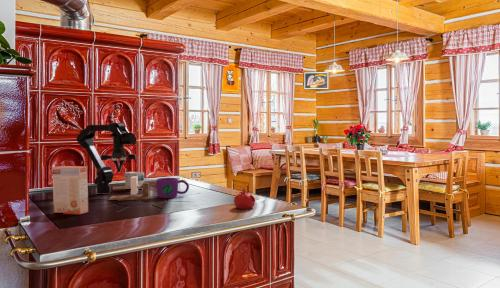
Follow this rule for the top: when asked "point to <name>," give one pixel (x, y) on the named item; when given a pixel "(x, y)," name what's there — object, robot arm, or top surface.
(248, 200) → the pomegranate
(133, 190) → the tan rectangular block
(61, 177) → the cracker box
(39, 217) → the top surface
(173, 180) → the mug
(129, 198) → the rod stand
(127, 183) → the light bulb box
